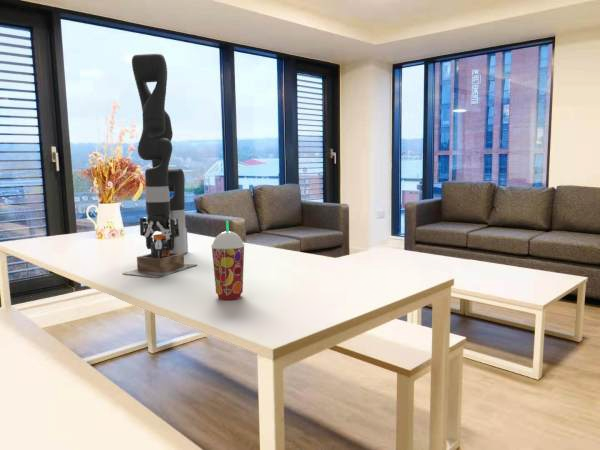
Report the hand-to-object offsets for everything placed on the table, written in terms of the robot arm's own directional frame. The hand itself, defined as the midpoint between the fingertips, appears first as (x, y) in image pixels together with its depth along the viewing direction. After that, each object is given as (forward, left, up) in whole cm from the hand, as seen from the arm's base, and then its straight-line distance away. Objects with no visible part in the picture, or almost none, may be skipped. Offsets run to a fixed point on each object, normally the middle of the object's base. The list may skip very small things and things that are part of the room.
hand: (160, 249), depth 160 cm
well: (0, 0, -7) cm, 7 cm away
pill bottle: (0, 0, -7) cm, 7 cm away
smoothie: (+20, +40, -7) cm, 45 cm away
